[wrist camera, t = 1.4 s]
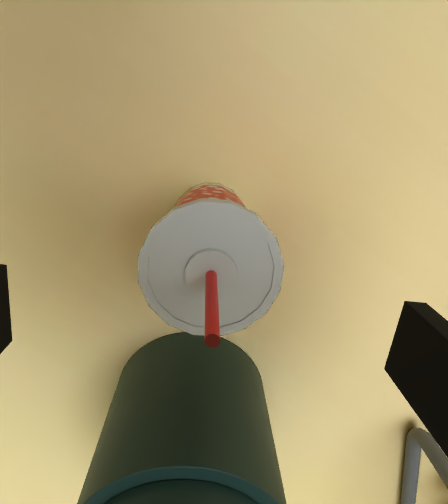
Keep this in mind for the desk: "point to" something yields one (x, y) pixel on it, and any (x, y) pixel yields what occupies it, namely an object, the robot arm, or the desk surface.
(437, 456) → the newton's cradle
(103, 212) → the desk surface
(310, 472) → the desk surface
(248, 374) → the green lidded canister
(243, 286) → the beverage cup
